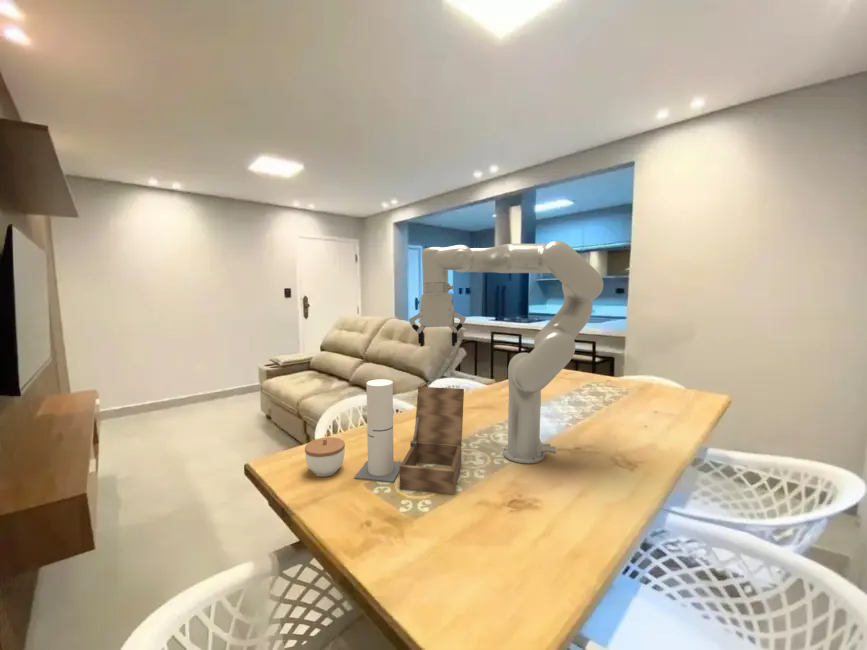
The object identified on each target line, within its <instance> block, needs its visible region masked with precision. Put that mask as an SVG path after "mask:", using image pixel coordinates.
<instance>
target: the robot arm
mask: <svg viewBox="0 0 867 650" xmlns="http://www.w3.org/2000/svg"><path fill="white" fill-rule="evenodd" d="M421 252H422V253H421V257H422V258H421V259H422V261H421V263H422V280H423V281H422V282H423V285H422V286H423V293H422V294H421V296H420V303H419V304H420V306H419V307H420V308H419V313H417V314H415V315H414V316H412V317H411V318H409V319H408V322H409V324H410V326H411V327H412V329H413V330H414V331H415V332H416V333H417V335H418V336H417V337H418V338H417V339H418V344H420V347H422V348H423V347H424V346H425V345H426V344H425V343H426V342H425V332H424V330H425V328H447V327H448V328H450V329H451V331H452V332H451V347H455V346H456V344H458V332H459V331H460V330H461V328H462V327H463V326H464V323H465V322H466V321H467V318H466V317H465V316H463V315H462V314H459V313H457V312H455V309H454V308H455V307H454V300H453V296H452V293H449V292H450V291H451V290H454V284H450V283H449V271H455V272H457V273H499V274H552V275H553V276H554V277H555V278H556V279H557V280H558V281H560V283H561V290H562V293H563V303H562V306H561V307H560V309H559V310H558V311H557V312H556V313H555V315H554V316H553V317H552V318H551V319H550V320H549V321H548V322H547V324H545V326H544V327H543V328H541V329H540V331H538V333H536V335H535V338H534V341H533V346H534V348H533V349H532V350H531V351H530V352H519V353H517V354H515V355H513V356H512V358H511V359H510V360H509V363H508V367H507V377H508V379H507V380H508V382H507V383H508V405H507V406H508V407H507V408H508V409H507V412H508V414H507V415H508V416H507V444H506V445H504V446H503V448H502V455H503V456H504V457H505V458H506V459H508V460H510V461H512V462H515V463H519V464H528V465H529V464H536V463H540V462H542V461H543V460H544V459H545V454H546V453H550V454H556V451H557V450H556V446H553V445H551V443H548V442H547V443H545V442H544V443H543V442H542V441H541V410H542V409H541V406H542V390H543V389H545V388H546V387H547V386H548V385H549V384H550V383H551V382H552V381H553V380H554V379H555V377H557V376H558V375H559V374H560V372H561V371H562V370H563V369H565V367H566V366H567V365H568V364H569V363H570V362H571V360H572V358H573V357H574V355H575V351H576V342H575V339H576V337H577V336H578V335H579V333H580V332H581V331H582V330H583V329H584V328H585V326H586V325H587V324H588V322H589V321H590V319H591V316H592V313H593V304H594V303H593V302H594V301H593V300H595V299H596V298H598V297H599V296H600V295H601V294H602V292H603V289H604V280H603V277H602V276H601V273H600V272H598V271H597V269H596V268H594V266H592V265H591V264H590V263H589V262H588V261H587V260H585V258H584V257H582V256H581V254H579V253H578V252H577V251H576V250H575V249H573V247H571V245H570V244H568V243H567V242H564V241H561V240H551V241H550V242H548V243H506V244H505V243H503V244H502V245H497V246H493V247H483V248H482V247H480V248H479V247H477V248H476V247H474V248H471V247H469V246H468V245H465V244H456V245H450V246H446V247H445V246H444V247H442V246H432V247H430V246H429V247H426V248H424V249H422V251H421ZM455 318H456V319H458V320H459V323H458V324H457V325H455ZM416 320H419V324H420V326H419V325H418V324H417V323H416Z"/></svg>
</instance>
